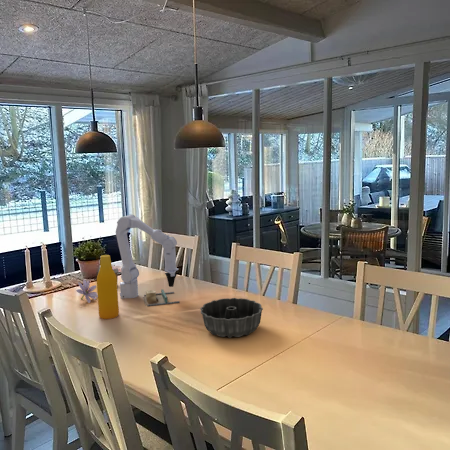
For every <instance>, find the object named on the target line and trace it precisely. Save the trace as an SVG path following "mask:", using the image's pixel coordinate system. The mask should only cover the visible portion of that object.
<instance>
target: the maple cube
mask: <svg viewBox="0 0 450 450" xmlns="http://www.w3.org/2000/svg"><path fill="white" fill-rule="evenodd" d="M145 295H146V300H147V302H153V301H156V290H146V291H145Z"/></svg>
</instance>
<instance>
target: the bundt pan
mask: <svg viewBox="0 0 450 450" xmlns="http://www.w3.org/2000/svg"><path fill="white" fill-rule="evenodd" d="M199 308H200V309H199V310H200V314H201V315H202V320H203V324H204V328H205V329H206V330H207V331H208V332H210V333H211V334H212V335H213V336H218V337H221V338H224V337H228V339H231V338H232V337H236V338H241V337H242V336H245V335H246V336H248V335H250V333H253V332H255V331H256V330H257V329H258V327H259V325H260V324H261V319H262V313H263V310H264V308H263V307H262V304H261V303H259V302H257V301H255V300H250V299H248V298H241V297H240V298H237V297H232V298H228V297H227V298H219V299H217V300H216V299H215V300H212V301H209V302H206V303H204V304H203V305H202V306H201V307H199Z"/></svg>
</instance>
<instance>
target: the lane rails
mask: <svg viewBox="0 0 450 450" xmlns="http://www.w3.org/2000/svg"><path fill="white" fill-rule="evenodd" d="M165 294H166V295H171V294H175V292H174V291H168V292H165ZM156 295H162V293H161V292H159V293H156ZM145 296H146V294H143V297H145ZM173 304H180V300H176V301H167V302H166V303H157V304H148V305H147V307H154V306H155V307H156V306H164V305H173Z"/></svg>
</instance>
